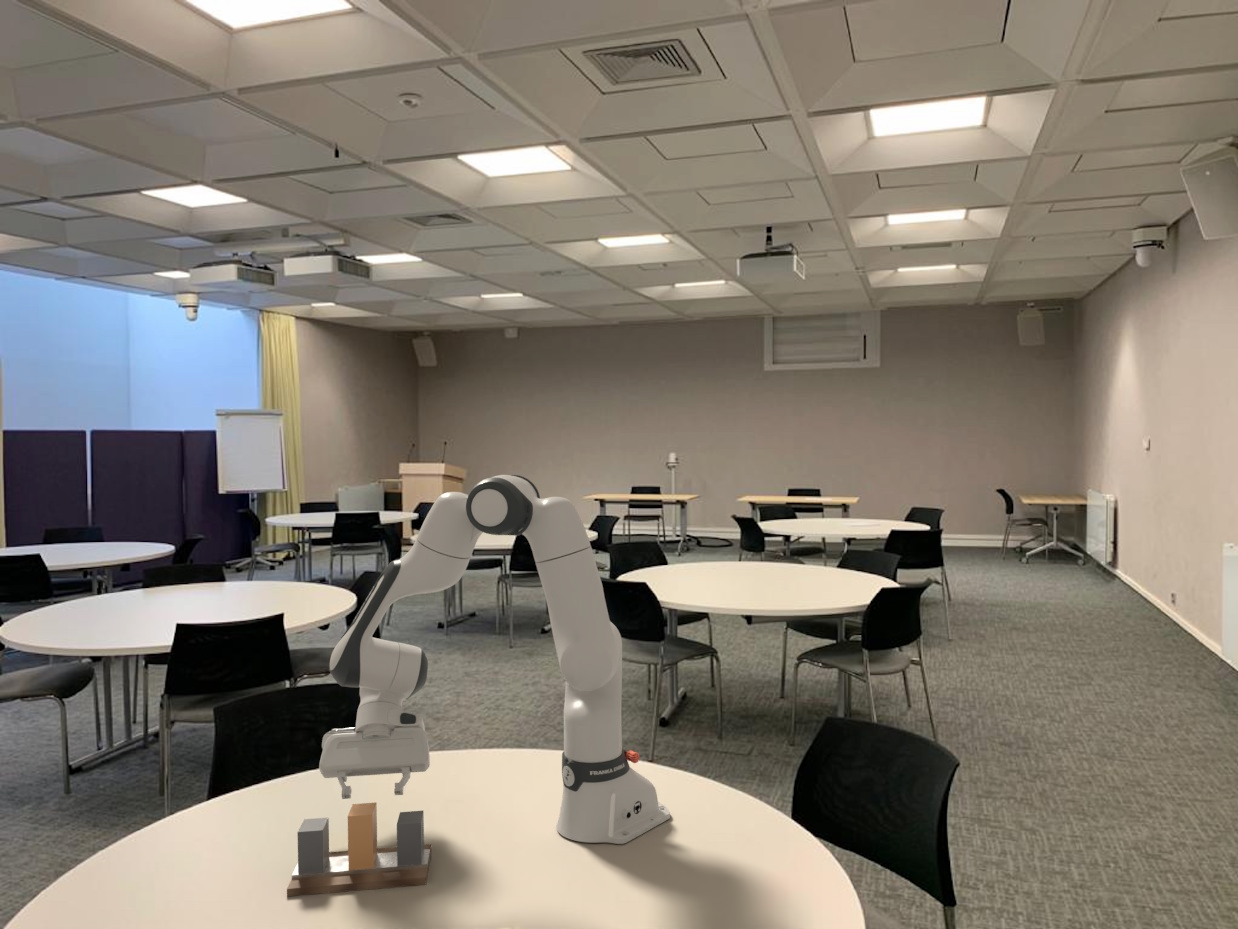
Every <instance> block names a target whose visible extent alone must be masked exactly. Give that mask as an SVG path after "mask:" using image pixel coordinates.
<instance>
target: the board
mask: <svg viewBox="0 0 1238 929" xmlns="http://www.w3.org/2000/svg"><path fill="white" fill-rule="evenodd" d="M432 848H433V847H432V843H431V844H429V843H427V844H424V850H425V849H430V856H429V862H428V868H417V869H405V870H393V871H381V872H369V873H357V874H345V875H333V876H322V877H310V878H298V879H292V878H291V879H290V882H289V884H288V885H287V888H286V897H294V896H295V897H296V896H308V895H316V894H319V895H320V894H329V893H332V894H333V893H340V892H352V891H353V892H356V891H363V890H364V891H365V890H375V889H389V888H390V889H391V888H399V887H408V886H411V887H412V886H422V885H427V882H428V876H429V870H430V861H431V857H432V851H433V850H432ZM388 852H397V846H391V847H379V848H378V847H377V853H388ZM338 856H348V850H341V851H329V857H338Z"/></svg>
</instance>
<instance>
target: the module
mask: <svg viewBox="0 0 1238 929" xmlns="http://www.w3.org/2000/svg"><path fill="white" fill-rule="evenodd" d="M377 803H378V802H364V803H353V804H352V805H351V807H350V810H349V813H348V815H347V842H348V843H347V847H348V848H347V851H348V865H349V870H354V869H366V868H373V867H374V864H375V860H376V857H377V848H378V819H377V818H378V814H377V812H378V811H377V810H378V809H377V806H378V805H377Z"/></svg>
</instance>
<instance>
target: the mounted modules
mask: <svg viewBox="0 0 1238 929" xmlns="http://www.w3.org/2000/svg"><path fill="white" fill-rule="evenodd" d="M398 814H399V815H398V817H397V818H398V819H397V821H396V847H397V866H402V865H414V864H422V859H423V853H424V845H425V832H424V830H425V828H424V826H425V823H424V822H425V821H424V819H425V818H424V816H425V815H424V810H414V811H413V810H412V811H411V810H410V811H400V812H399V813H398ZM329 822H330V818H329V817H317V818H306V819H305V818H304V819H303V822H302V823H301V825H300V827H299V828H298V830H297V863H298V874H306V873H318V872H324V869H325V867H326V864H327V862H328V860H329V852H330V829H329V828H330V826H329V825H330V824H329Z"/></svg>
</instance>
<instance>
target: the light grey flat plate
mask: <svg viewBox="0 0 1238 929" xmlns="http://www.w3.org/2000/svg"><path fill="white" fill-rule="evenodd" d="M429 856H430V849H425V850H424V853H423V859H422V864H414V865H402V866H397V852H388V853H377V857H376V860H375V864H374V867H373V868H366V869H354V870H349V865H348V856H338V857H329V860H328V862H327V864H326V867H325V869H324V872H318V873H306V874H298V862H297V863H296V866H295V867H294V870H293V872H292V874H291V879H298V878H310V877H322V876H333V875H345V874H357V873H369V872H381V871H393V870H405V869H417V868H428V862H429Z"/></svg>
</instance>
